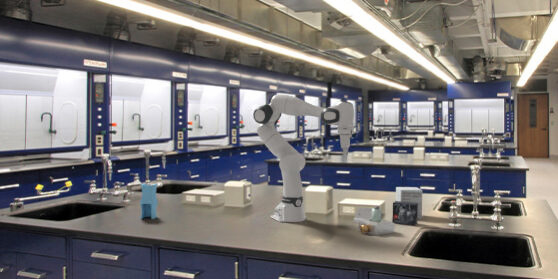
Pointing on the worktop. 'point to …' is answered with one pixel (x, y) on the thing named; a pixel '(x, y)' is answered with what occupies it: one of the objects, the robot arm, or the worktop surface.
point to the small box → (405, 213)
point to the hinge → (364, 214)
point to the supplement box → (410, 197)
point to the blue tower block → (148, 201)
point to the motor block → (376, 227)
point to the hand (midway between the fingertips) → (345, 156)
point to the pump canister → (376, 214)
